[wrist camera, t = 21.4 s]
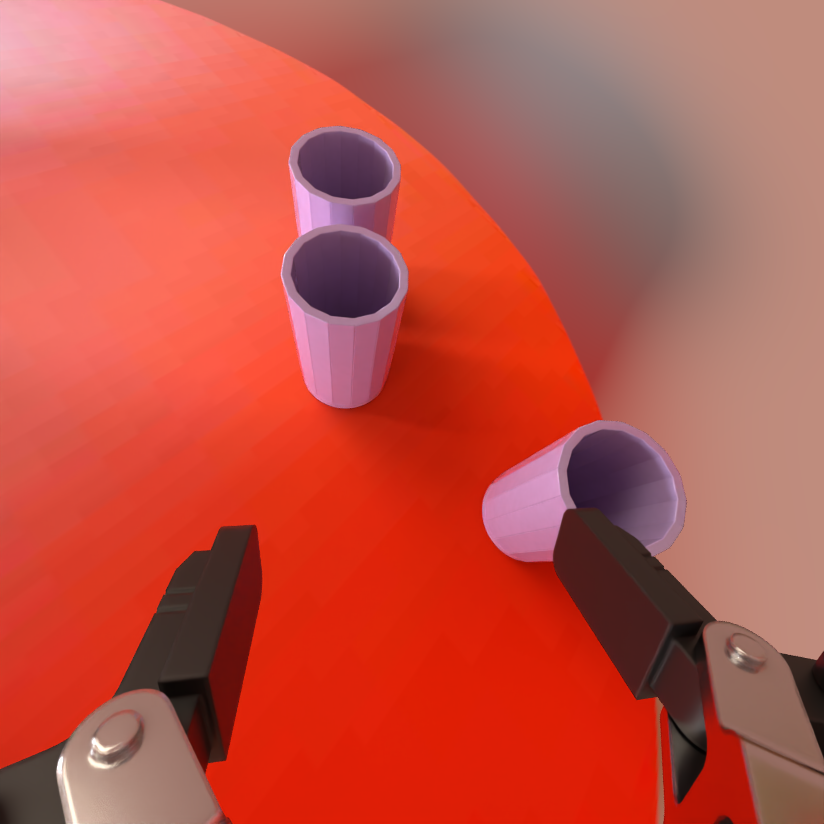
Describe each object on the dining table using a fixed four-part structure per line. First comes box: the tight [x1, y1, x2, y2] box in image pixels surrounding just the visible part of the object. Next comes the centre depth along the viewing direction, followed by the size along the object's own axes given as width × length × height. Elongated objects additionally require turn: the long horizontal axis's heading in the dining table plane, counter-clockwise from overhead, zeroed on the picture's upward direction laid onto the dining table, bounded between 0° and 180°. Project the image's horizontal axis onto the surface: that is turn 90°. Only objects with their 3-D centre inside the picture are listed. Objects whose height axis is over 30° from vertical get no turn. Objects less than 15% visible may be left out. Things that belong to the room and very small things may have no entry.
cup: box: [289, 126, 401, 243], centre depth 26 cm, size 6×6×10 cm
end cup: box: [482, 420, 687, 562], centre depth 22 cm, size 6×6×10 cm
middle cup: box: [281, 224, 409, 408], centre depth 23 cm, size 6×6×10 cm
